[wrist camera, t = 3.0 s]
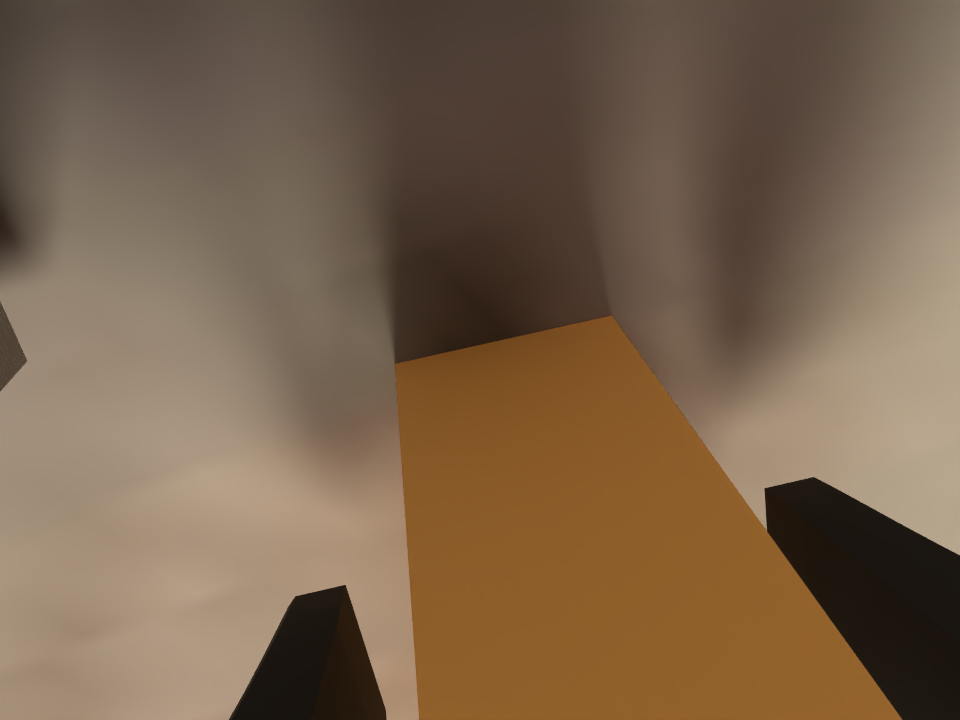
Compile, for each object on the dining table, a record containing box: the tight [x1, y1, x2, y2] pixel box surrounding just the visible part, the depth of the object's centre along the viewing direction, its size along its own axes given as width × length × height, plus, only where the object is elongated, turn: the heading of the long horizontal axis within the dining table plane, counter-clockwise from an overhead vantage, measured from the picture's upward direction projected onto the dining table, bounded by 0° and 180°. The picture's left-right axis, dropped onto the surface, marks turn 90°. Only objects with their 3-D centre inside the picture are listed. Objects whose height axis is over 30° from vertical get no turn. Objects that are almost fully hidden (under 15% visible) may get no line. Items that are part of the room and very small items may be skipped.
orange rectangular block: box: [395, 315, 902, 720], centre depth 9 cm, size 5×3×8 cm, turn 11°
